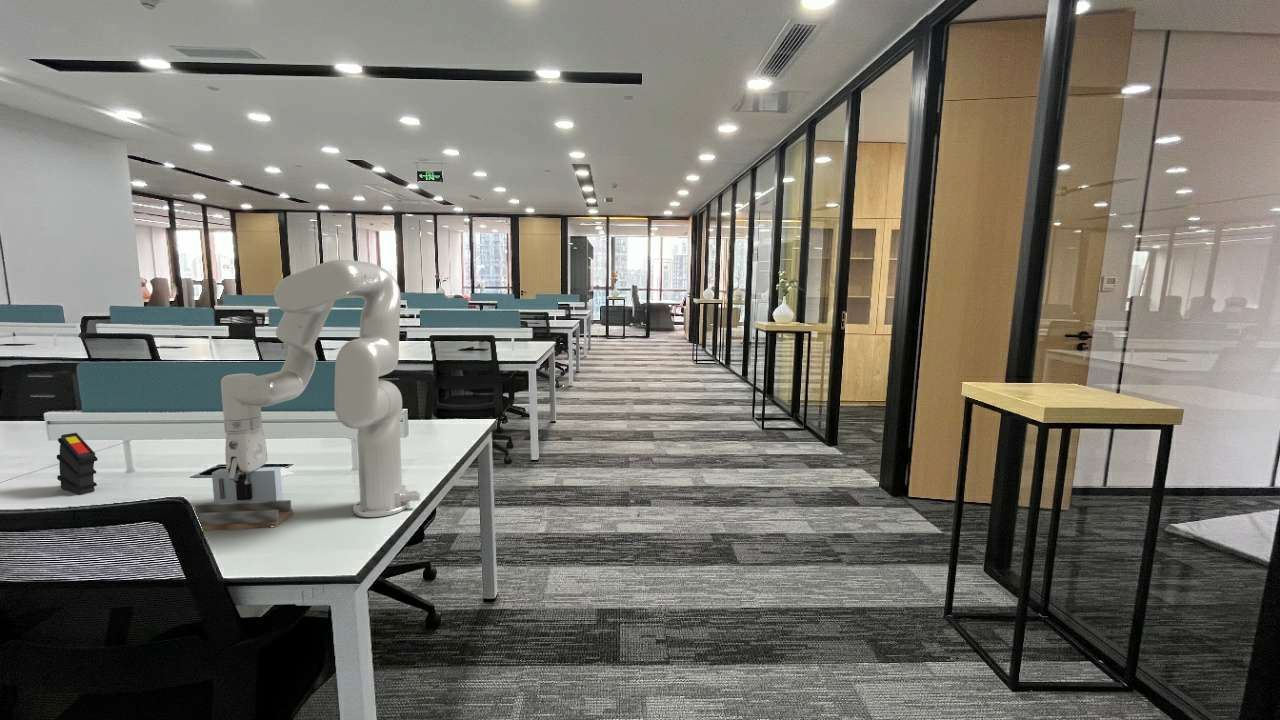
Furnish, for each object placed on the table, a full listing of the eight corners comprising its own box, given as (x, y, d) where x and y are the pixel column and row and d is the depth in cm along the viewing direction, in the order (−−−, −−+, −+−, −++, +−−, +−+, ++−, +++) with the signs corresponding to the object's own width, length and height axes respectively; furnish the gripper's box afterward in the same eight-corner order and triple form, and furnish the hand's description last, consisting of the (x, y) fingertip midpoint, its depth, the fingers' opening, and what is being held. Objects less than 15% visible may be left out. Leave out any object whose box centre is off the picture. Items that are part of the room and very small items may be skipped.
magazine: (71, 477, 153) (77, 431, 149) (94, 504, 149) (101, 458, 144) (52, 481, 150) (58, 434, 145) (75, 509, 145) (82, 462, 141)
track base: (292, 513, 134) (291, 499, 133) (276, 527, 126) (275, 512, 125) (200, 517, 131) (199, 503, 130) (177, 531, 123) (176, 516, 123)
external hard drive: (233, 482, 157) (283, 471, 167) (242, 488, 152) (293, 477, 161) (233, 476, 157) (282, 466, 166) (242, 482, 152) (293, 472, 161)
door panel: (282, 501, 141) (280, 466, 140) (276, 506, 138) (273, 471, 137) (222, 504, 139) (219, 468, 138) (213, 509, 136) (210, 473, 135)
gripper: (241, 432, 129) (247, 508, 131) (276, 416, 145) (281, 485, 147) (205, 433, 128) (212, 510, 130) (245, 417, 144) (250, 486, 146)
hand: (248, 496), depth 138 cm, fingers closed on door panel, 3 cm apart
